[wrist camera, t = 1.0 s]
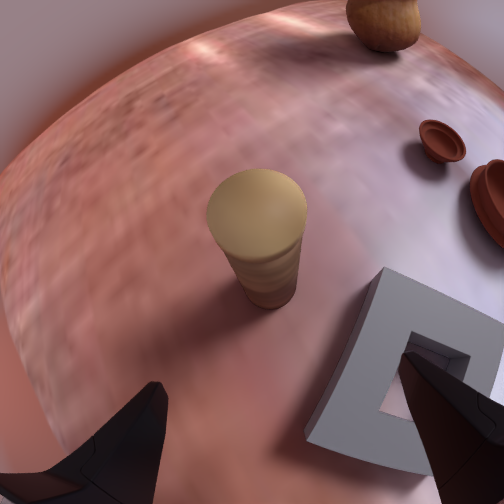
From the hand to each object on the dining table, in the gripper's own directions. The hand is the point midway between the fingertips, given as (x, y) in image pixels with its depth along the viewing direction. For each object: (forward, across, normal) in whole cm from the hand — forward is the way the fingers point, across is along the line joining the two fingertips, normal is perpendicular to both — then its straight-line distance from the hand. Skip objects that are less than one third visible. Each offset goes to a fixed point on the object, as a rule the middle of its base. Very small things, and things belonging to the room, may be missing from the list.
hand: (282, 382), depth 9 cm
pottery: (+20, -26, -1) cm, 33 cm away
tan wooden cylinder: (+15, 0, +4) cm, 15 cm away
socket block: (+7, -11, +12) cm, 17 cm away
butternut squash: (+43, -25, -25) cm, 55 cm away
